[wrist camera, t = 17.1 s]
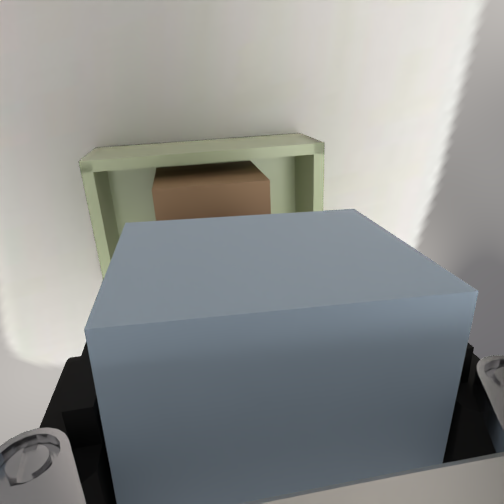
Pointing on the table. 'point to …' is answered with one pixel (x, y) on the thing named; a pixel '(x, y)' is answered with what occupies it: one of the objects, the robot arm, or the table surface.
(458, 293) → the blue carton
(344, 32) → the table surface
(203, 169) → the walnut block
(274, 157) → the box
